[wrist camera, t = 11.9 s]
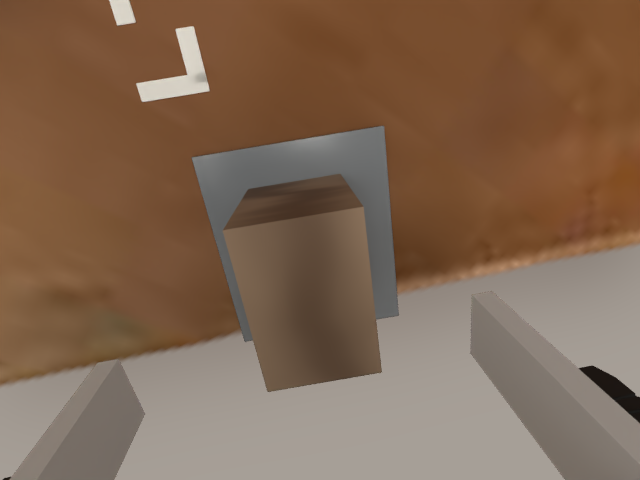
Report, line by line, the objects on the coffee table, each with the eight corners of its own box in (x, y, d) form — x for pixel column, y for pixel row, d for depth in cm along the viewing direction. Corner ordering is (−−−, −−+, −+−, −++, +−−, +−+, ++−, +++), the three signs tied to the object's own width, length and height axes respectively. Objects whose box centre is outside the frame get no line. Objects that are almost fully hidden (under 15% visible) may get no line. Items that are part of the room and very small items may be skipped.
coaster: (245, 338, 26) (244, 341, 26) (193, 156, 21) (191, 157, 21) (397, 312, 26) (398, 315, 26) (382, 125, 21) (384, 125, 21)
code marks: (142, 102, 20) (142, 102, 20) (91, -57, 17) (90, -58, 17) (210, 91, 20) (209, 90, 20) (170, -69, 17) (169, -70, 17)
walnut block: (276, 307, 25) (267, 392, 17) (248, 189, 21) (222, 230, 14) (356, 293, 25) (381, 372, 17) (340, 173, 22) (363, 206, 14)
